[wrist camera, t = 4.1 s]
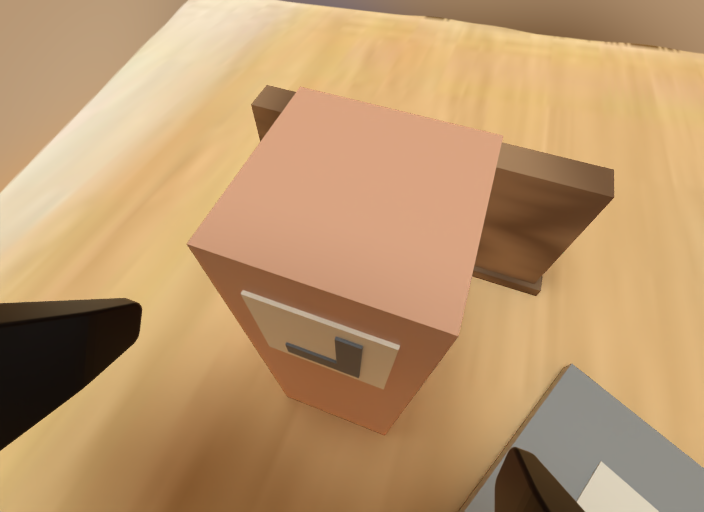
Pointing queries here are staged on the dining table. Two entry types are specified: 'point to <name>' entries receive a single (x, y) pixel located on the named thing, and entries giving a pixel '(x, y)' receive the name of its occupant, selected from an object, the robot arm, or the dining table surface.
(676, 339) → the dining table surface
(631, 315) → the dining table surface
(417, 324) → the lettered block
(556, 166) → the screen
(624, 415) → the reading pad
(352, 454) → the dining table surface
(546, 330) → the dining table surface
